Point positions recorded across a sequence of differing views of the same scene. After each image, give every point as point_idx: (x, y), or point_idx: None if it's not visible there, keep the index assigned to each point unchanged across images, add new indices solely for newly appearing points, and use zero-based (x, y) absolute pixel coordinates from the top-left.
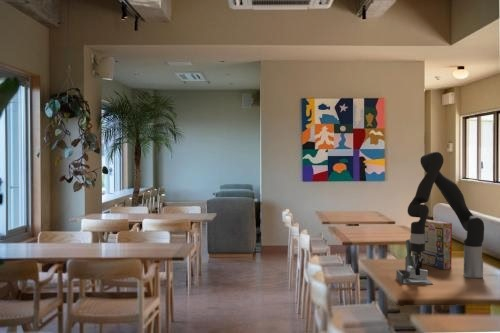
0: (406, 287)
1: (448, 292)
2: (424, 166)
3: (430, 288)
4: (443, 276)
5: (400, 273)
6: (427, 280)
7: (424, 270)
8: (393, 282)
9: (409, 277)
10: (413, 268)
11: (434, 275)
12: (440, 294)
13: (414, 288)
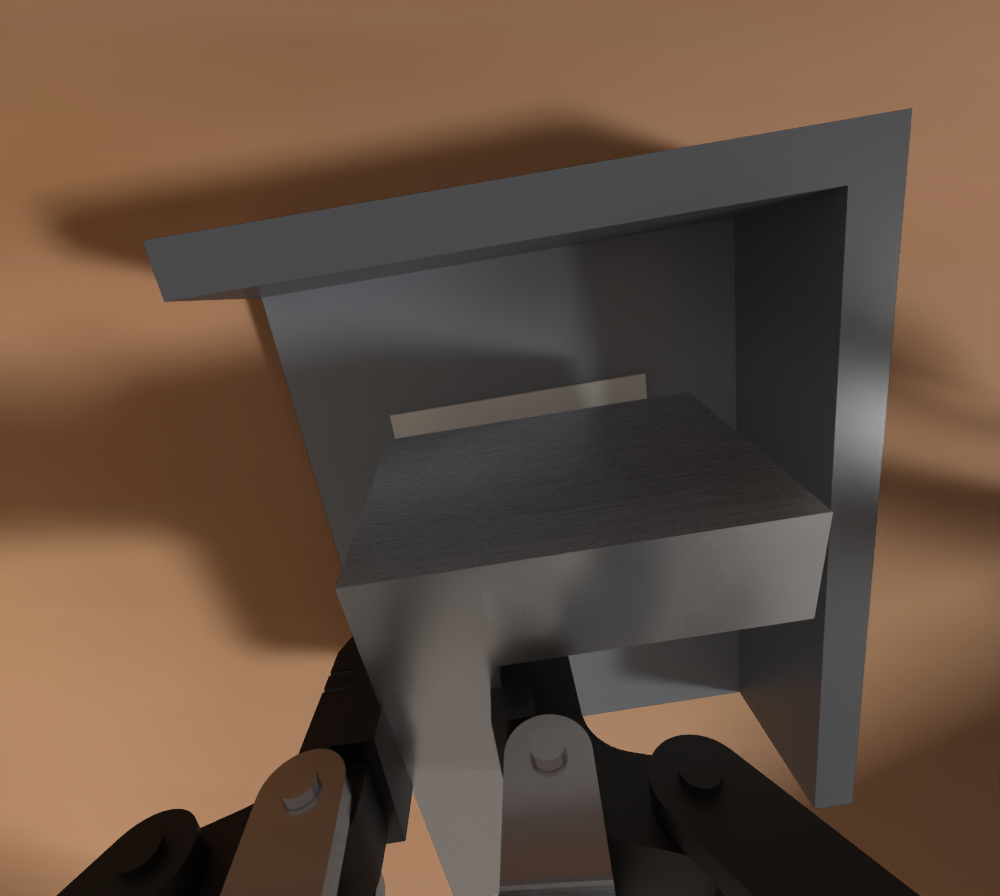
0: (37, 343)
1: (42, 859)
2: None
3: (157, 692)
4: (900, 858)
5: (404, 221)
6: (577, 693)
7: (441, 857)
8: (362, 80)
9: (388, 446)
10: (424, 662)
11: (963, 776)
12: None
13: (35, 477)
